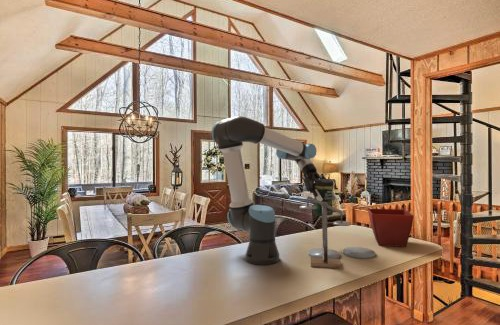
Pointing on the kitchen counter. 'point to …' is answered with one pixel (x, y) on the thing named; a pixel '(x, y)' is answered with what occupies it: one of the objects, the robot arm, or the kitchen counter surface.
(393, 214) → the plant pot
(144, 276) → the kitchen counter surface
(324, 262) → the balance
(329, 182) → the coffee jar
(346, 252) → the right dish
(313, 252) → the left dish
